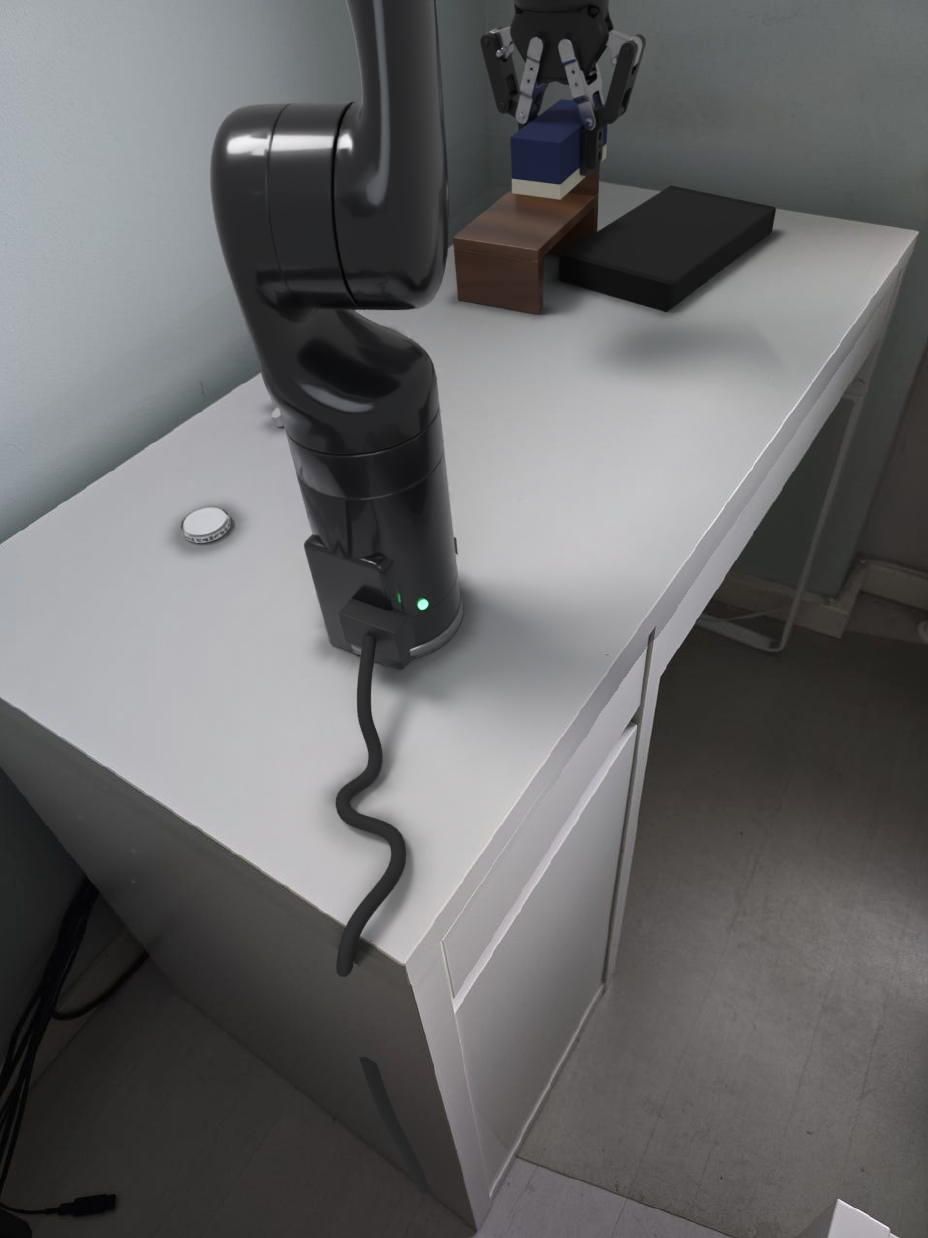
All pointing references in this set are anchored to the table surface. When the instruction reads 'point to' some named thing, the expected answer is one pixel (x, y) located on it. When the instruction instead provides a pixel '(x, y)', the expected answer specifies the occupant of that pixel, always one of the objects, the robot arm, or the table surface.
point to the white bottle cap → (205, 524)
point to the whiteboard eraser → (549, 152)
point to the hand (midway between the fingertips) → (560, 168)
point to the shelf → (521, 245)
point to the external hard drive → (666, 246)
